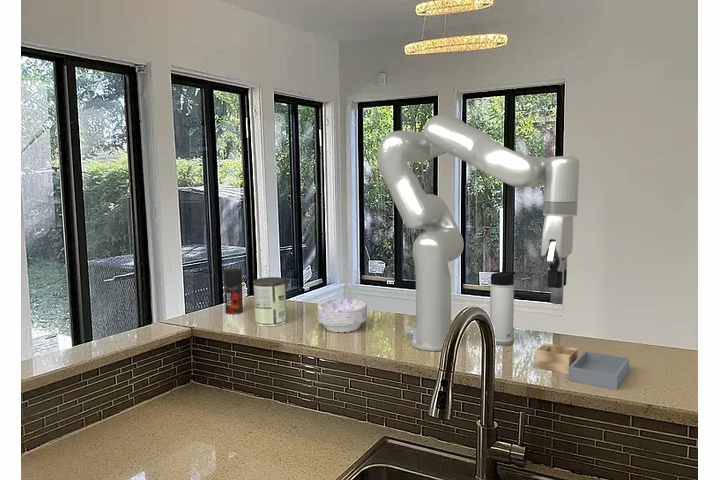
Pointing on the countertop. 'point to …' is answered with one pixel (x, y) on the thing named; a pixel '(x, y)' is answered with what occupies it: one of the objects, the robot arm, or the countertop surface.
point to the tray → (599, 369)
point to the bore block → (555, 358)
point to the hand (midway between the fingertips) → (556, 285)
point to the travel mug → (502, 306)
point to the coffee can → (270, 301)
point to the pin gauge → (558, 292)
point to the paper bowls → (342, 314)
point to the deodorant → (233, 291)
